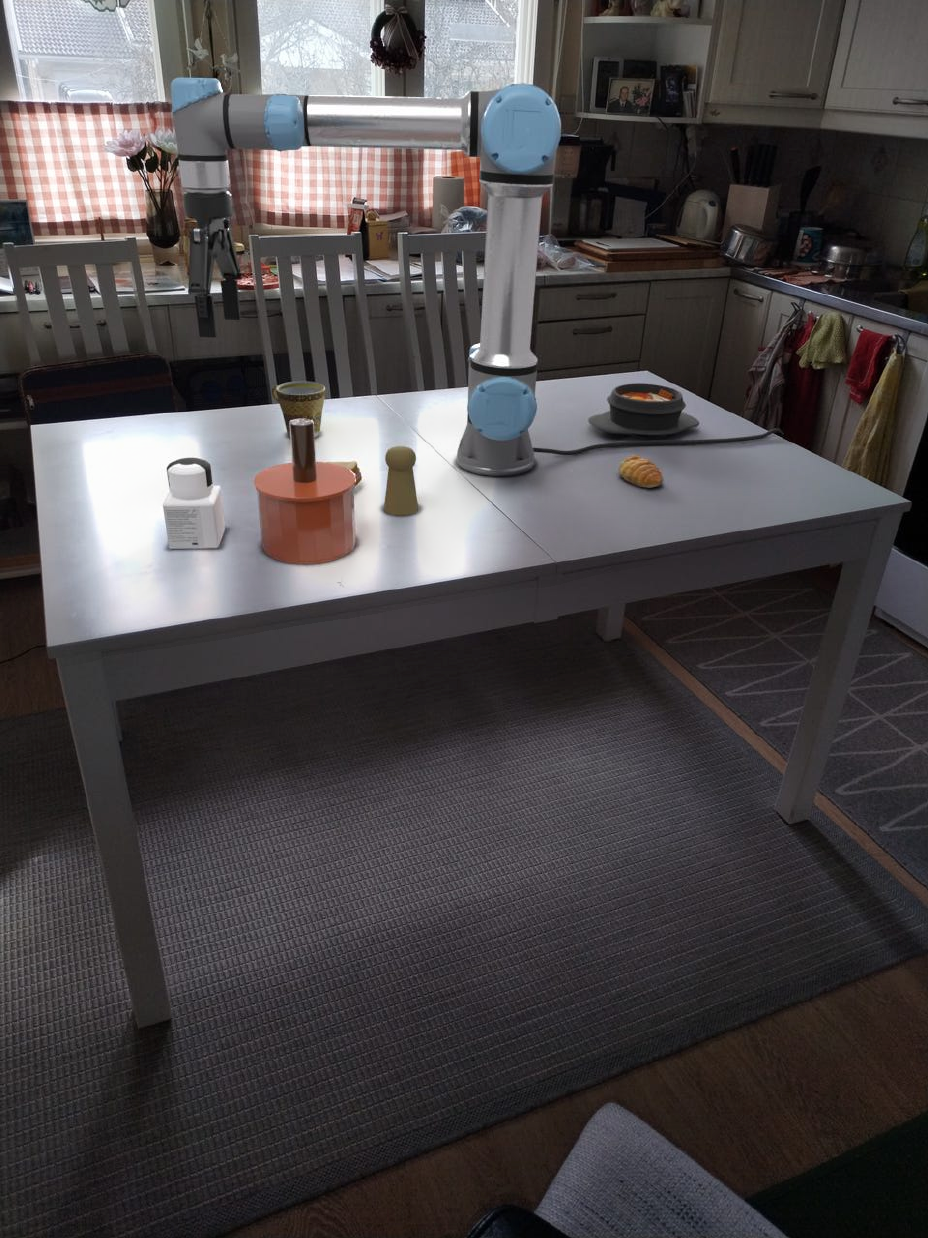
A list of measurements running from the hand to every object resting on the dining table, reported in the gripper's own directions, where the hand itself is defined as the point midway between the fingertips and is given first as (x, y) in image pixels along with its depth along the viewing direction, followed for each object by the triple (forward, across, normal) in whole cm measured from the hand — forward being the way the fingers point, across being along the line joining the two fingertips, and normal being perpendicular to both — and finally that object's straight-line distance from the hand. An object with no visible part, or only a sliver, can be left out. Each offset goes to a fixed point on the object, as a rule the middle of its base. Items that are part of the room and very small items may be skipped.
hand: (221, 327), depth 156 cm
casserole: (+28, -42, +78) cm, 93 cm away
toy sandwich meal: (+28, +1, +16) cm, 32 cm away
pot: (+28, +25, +19) cm, 42 cm away
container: (+28, +26, +1) cm, 38 cm away
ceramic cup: (+28, -29, +5) cm, 40 cm away
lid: (+17, +25, +19) cm, 36 cm away
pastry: (+28, -11, +75) cm, 81 cm away
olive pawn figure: (+28, +9, +32) cm, 43 cm away
